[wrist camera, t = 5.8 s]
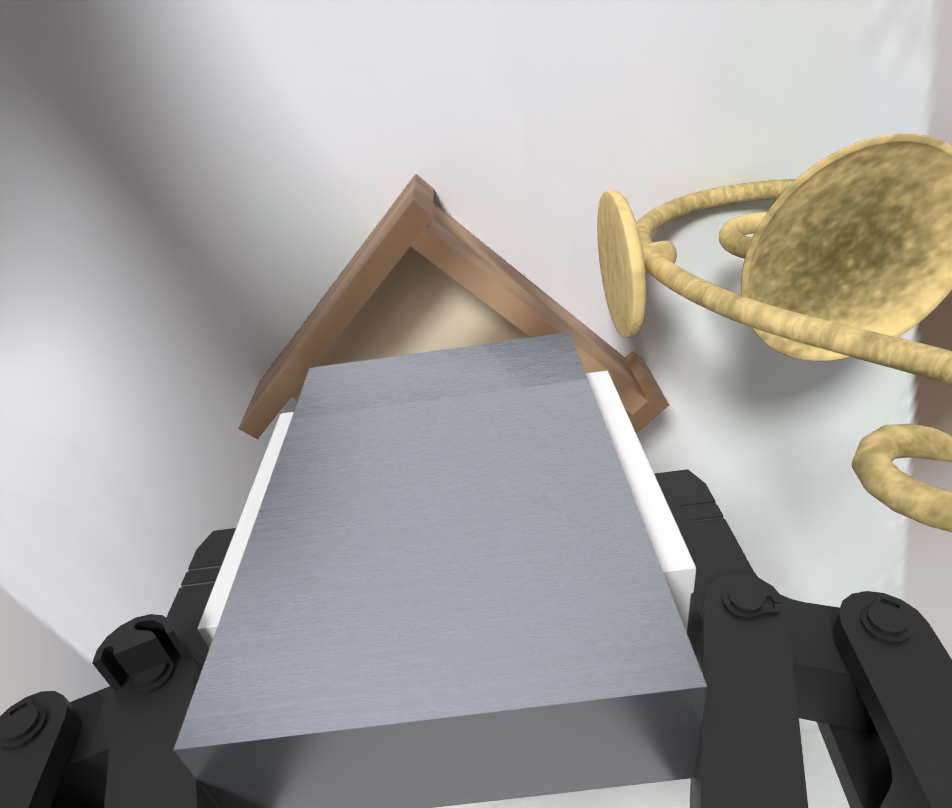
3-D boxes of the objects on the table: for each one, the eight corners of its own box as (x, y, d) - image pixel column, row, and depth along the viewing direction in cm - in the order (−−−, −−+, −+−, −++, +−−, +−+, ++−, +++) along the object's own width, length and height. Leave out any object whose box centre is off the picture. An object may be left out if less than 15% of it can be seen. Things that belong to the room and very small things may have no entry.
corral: (259, 382, 39) (238, 428, 35) (415, 173, 32) (413, 200, 28) (480, 510, 46) (485, 562, 42) (644, 361, 39) (669, 405, 35)
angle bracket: (309, 367, 16) (173, 749, 8) (569, 332, 16) (707, 686, 8) (381, 588, 21) (343, 966, 13) (581, 563, 21) (672, 931, 13)
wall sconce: (589, 298, 37) (786, 691, 16) (576, 130, 31) (848, 394, 11) (823, 255, 36) (1346, 609, 15) (850, 76, 31) (1705, 249, 10)
